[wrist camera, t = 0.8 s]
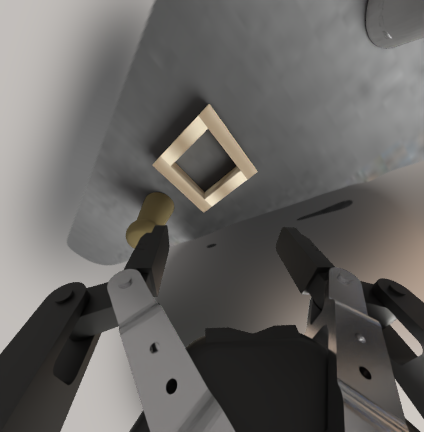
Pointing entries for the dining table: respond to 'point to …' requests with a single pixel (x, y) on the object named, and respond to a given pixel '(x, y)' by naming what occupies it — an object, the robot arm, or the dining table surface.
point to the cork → (150, 216)
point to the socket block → (184, 141)
